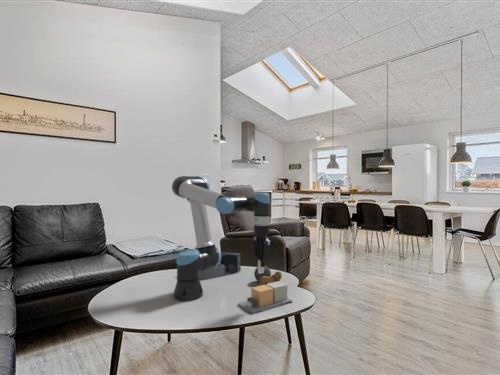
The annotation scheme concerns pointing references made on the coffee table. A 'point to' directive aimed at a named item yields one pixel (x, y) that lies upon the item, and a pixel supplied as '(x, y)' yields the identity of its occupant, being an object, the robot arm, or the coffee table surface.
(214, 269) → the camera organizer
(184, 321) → the coffee table surface
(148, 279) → the coffee table surface
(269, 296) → the block
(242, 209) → the robot arm
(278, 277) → the lion figurine
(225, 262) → the small box
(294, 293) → the coffee table surface
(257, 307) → the rail board
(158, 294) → the coffee table surface
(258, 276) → the decorative ball
